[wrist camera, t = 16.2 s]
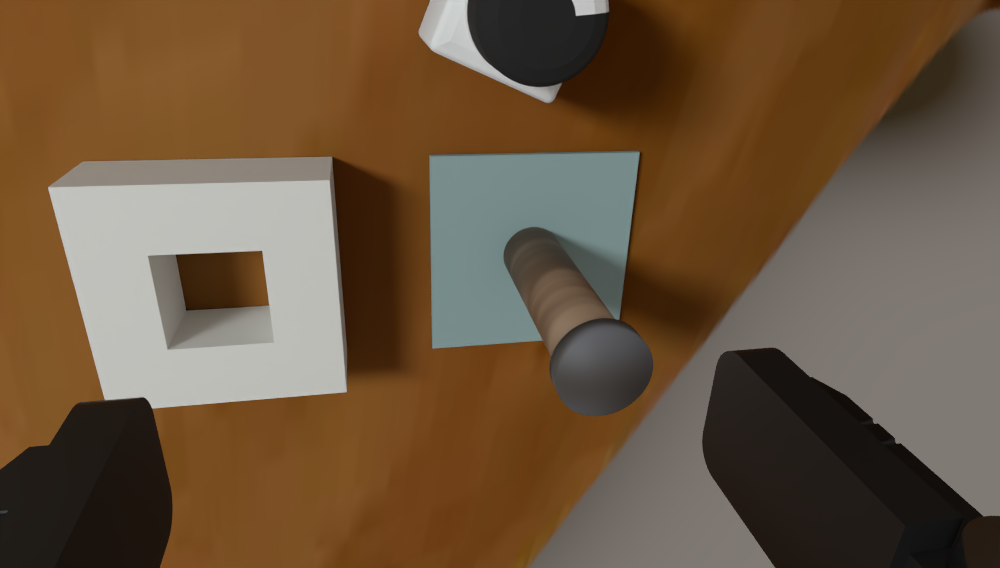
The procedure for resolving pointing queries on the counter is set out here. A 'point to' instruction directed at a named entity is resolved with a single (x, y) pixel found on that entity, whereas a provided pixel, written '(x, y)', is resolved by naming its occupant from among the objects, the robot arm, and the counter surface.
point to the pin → (577, 328)
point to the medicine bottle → (518, 39)
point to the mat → (508, 209)
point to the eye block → (206, 229)
